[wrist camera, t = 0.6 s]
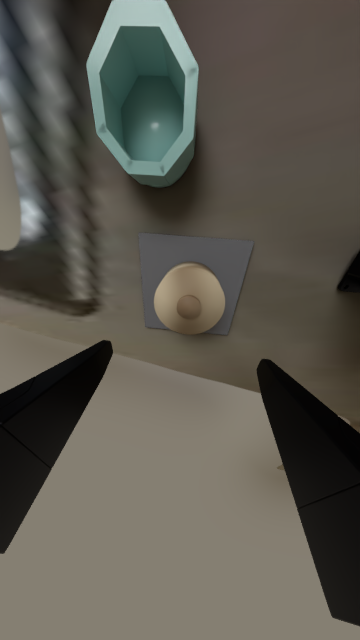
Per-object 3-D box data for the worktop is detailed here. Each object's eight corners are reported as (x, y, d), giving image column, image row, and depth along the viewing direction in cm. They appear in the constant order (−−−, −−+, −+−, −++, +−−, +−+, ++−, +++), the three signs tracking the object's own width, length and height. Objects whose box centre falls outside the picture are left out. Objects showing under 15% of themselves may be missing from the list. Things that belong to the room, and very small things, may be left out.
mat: (252, 241, 16) (254, 241, 15) (226, 333, 22) (227, 335, 22) (139, 232, 16) (138, 232, 16) (146, 325, 23) (145, 327, 22)
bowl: (200, 72, 11) (203, 0, 7) (191, 189, 14) (190, 177, 11) (112, 70, 11) (76, -2, 8) (124, 185, 14) (102, 172, 11)
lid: (225, 264, 17) (234, 274, 13) (213, 319, 20) (218, 340, 17) (161, 258, 17) (151, 267, 13) (161, 314, 21) (153, 334, 17)
